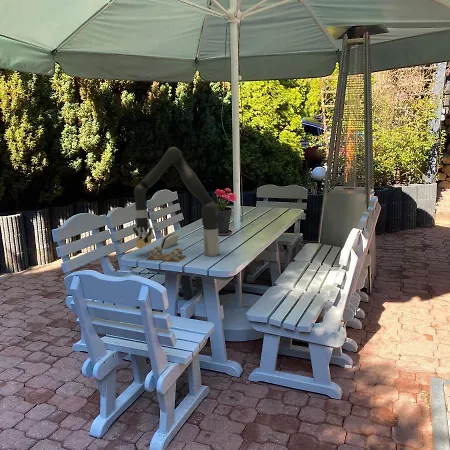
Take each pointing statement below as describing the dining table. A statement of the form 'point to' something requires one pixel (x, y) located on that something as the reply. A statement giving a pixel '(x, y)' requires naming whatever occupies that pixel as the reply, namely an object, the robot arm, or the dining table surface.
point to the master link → (142, 242)
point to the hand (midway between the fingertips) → (143, 242)
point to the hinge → (169, 240)
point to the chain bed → (166, 255)
